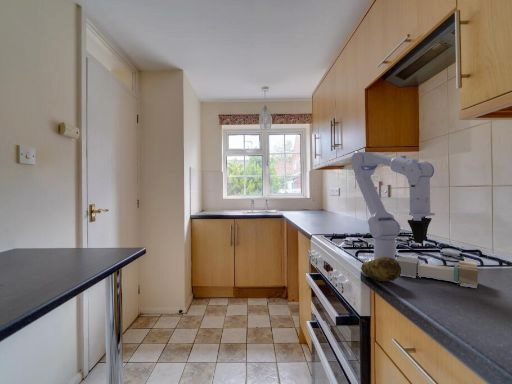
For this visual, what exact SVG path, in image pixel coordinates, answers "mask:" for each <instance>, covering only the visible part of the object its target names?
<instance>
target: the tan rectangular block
mask: <svg viewBox="0 0 512 384" xmlns="http://www.w3.org/2000/svg"><path fill="white" fill-rule="evenodd" d="M477 263H478V262H474V261H473V262H472V261H465V260H459V264H458V268H459V283H466V284H472V285H478V284H479V283H478V281H479V280H478V279H479V277H478V273H479V272H478V271H479V267H478V264H477Z"/></svg>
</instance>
